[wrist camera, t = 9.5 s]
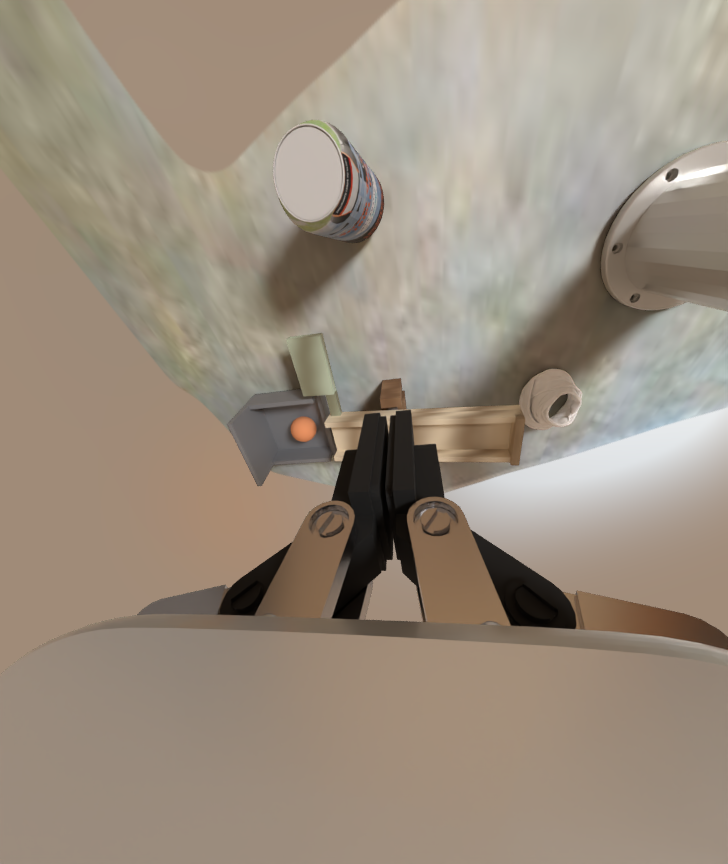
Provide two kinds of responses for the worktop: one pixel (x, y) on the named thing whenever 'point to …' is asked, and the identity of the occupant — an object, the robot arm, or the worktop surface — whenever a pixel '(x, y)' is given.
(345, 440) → the lever
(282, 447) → the bin
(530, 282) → the worktop surface
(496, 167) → the worktop surface
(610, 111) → the worktop surface
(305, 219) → the beverage can
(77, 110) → the worktop surface
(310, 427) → the ball
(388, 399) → the fulcrum
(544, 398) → the grey hollow rounded piece
